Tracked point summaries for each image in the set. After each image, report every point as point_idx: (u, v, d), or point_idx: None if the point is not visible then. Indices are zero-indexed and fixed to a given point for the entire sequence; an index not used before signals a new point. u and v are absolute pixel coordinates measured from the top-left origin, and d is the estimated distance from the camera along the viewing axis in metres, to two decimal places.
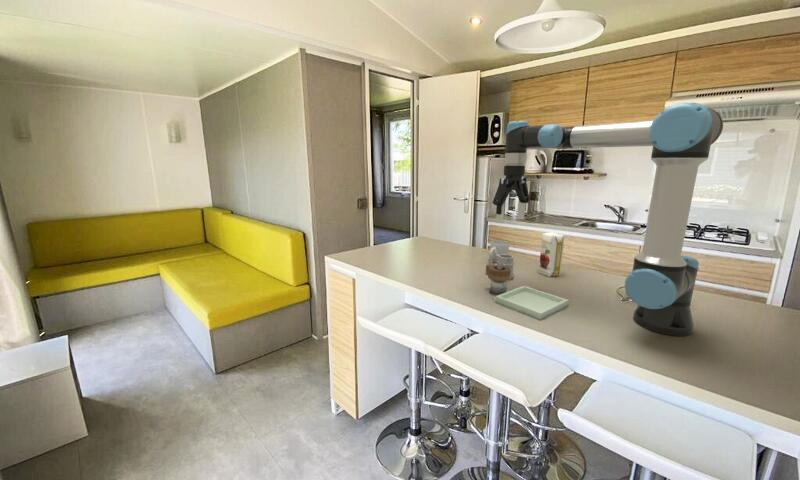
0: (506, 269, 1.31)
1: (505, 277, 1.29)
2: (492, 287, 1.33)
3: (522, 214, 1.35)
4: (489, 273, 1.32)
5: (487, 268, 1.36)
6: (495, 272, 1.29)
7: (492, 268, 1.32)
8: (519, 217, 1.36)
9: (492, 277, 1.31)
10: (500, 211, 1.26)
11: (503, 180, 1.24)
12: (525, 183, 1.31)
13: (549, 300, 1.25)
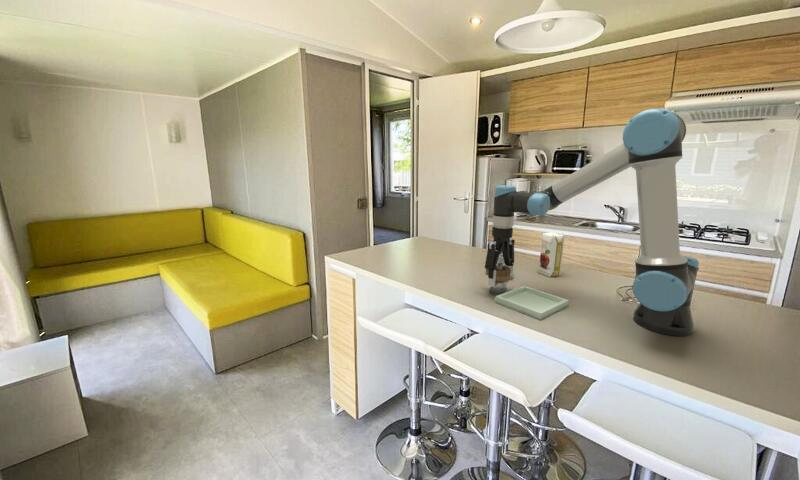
0: (506, 269, 1.31)
1: (505, 277, 1.29)
2: (492, 287, 1.33)
3: None
4: None
5: None
6: None
7: None
8: None
9: None
10: (492, 275, 1.29)
11: (491, 246, 1.26)
12: (512, 244, 1.33)
13: (549, 300, 1.25)
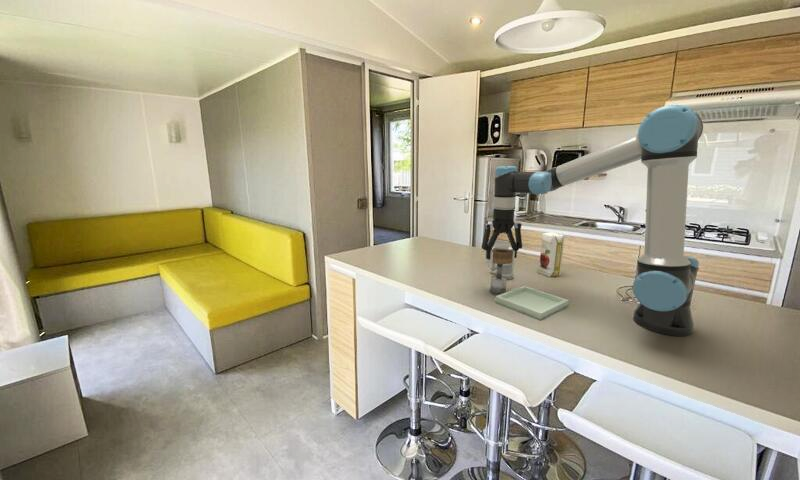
0: (506, 252, 1.28)
1: (502, 260, 1.27)
2: (492, 287, 1.33)
3: None
4: None
5: None
6: None
7: (493, 250, 1.32)
8: (510, 264, 1.32)
9: None
10: (489, 256, 1.30)
11: (486, 226, 1.27)
12: (518, 228, 1.28)
13: (549, 300, 1.25)
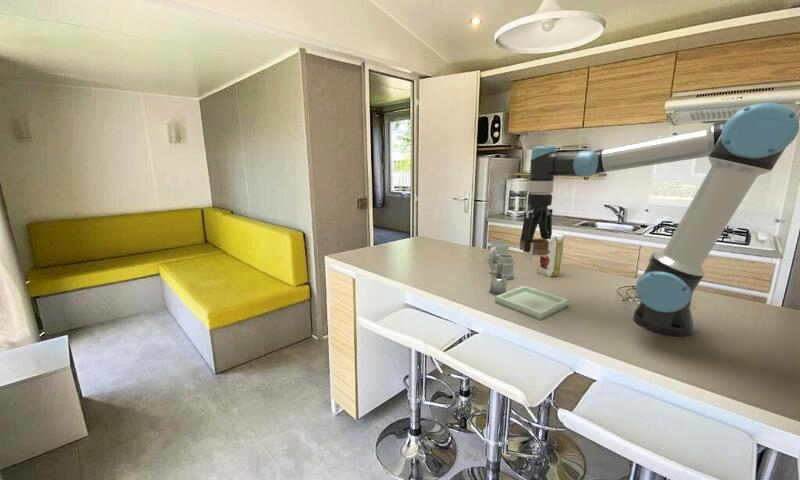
0: (544, 242, 1.17)
1: (543, 250, 1.15)
2: (492, 287, 1.33)
3: None
4: None
5: (521, 242, 1.22)
6: None
7: None
8: None
9: None
10: (529, 248, 1.15)
11: (528, 214, 1.12)
12: (550, 215, 1.19)
13: (549, 300, 1.25)
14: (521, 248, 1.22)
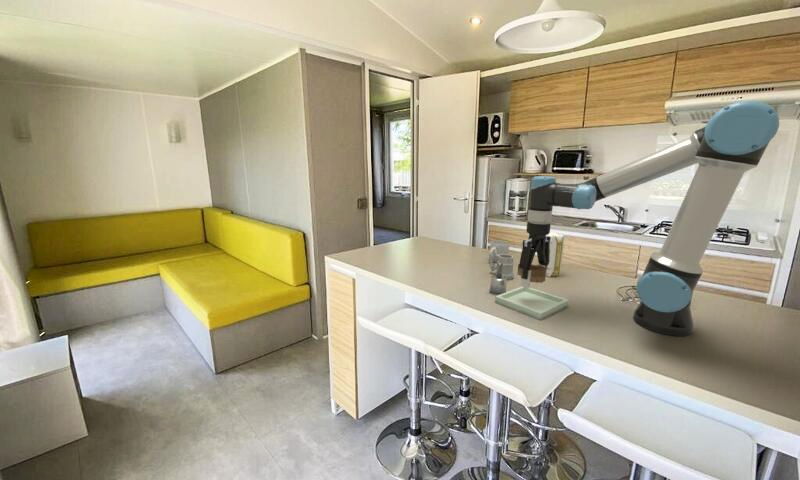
0: (541, 269, 1.19)
1: (541, 278, 1.17)
2: (492, 287, 1.33)
3: None
4: None
5: (519, 268, 1.24)
6: None
7: None
8: None
9: None
10: (526, 276, 1.17)
11: (527, 243, 1.14)
12: (548, 242, 1.21)
13: (549, 300, 1.25)
14: (519, 273, 1.24)
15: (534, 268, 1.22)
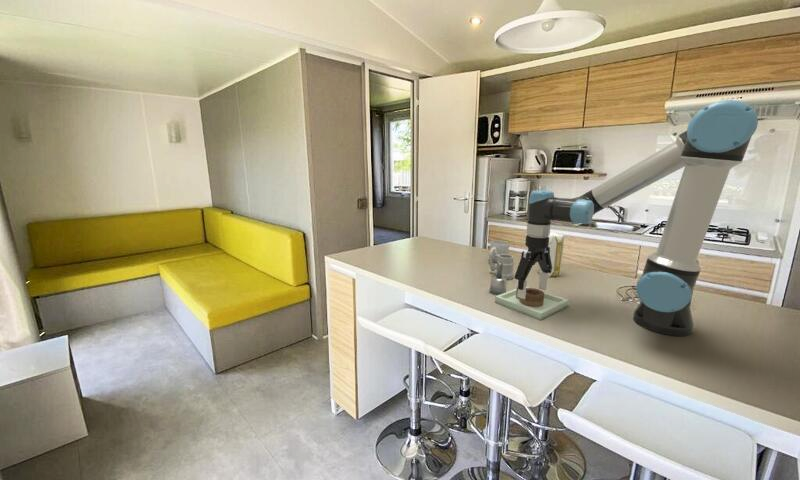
0: (540, 293, 1.21)
1: (539, 302, 1.19)
2: (492, 287, 1.33)
3: (544, 284, 1.25)
4: None
5: None
6: (528, 297, 1.19)
7: None
8: (541, 287, 1.26)
9: (524, 302, 1.21)
10: (522, 286, 1.16)
11: (526, 254, 1.14)
12: (548, 253, 1.22)
13: (549, 300, 1.25)
14: (517, 297, 1.26)
15: (532, 292, 1.24)
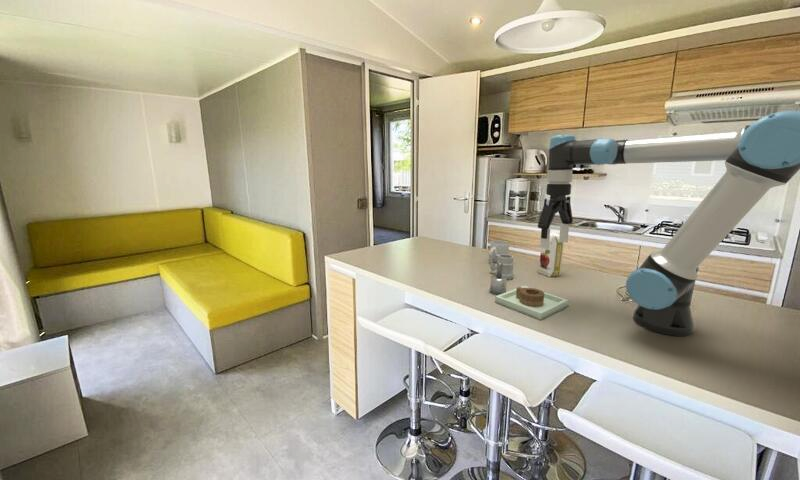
0: (540, 293, 1.21)
1: (539, 302, 1.19)
2: (492, 287, 1.33)
3: (565, 236, 1.22)
4: (521, 297, 1.22)
5: (518, 291, 1.26)
6: (528, 297, 1.19)
7: (524, 292, 1.22)
8: (562, 239, 1.23)
9: (524, 302, 1.21)
10: (546, 235, 1.13)
11: (549, 201, 1.11)
12: (568, 202, 1.19)
13: (549, 300, 1.25)
14: (517, 297, 1.26)
15: (532, 292, 1.24)
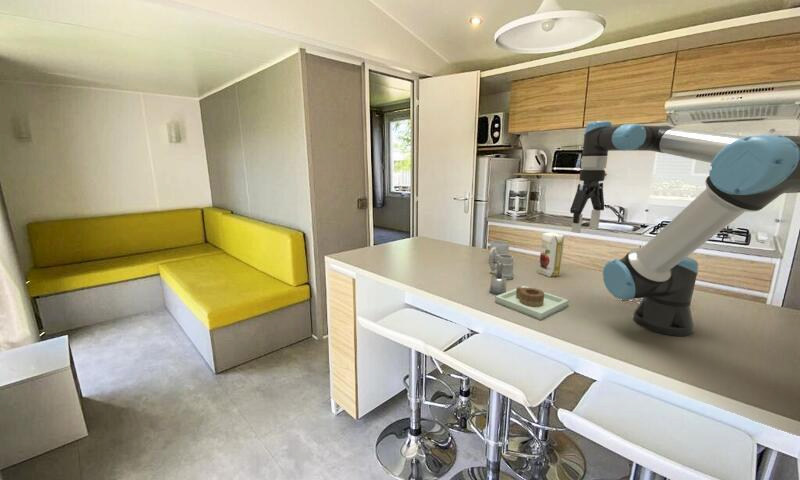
0: (540, 293, 1.21)
1: (539, 302, 1.19)
2: (492, 287, 1.33)
3: (596, 222, 1.24)
4: (521, 297, 1.22)
5: (518, 291, 1.26)
6: (528, 297, 1.19)
7: (524, 292, 1.22)
8: (592, 225, 1.25)
9: (524, 302, 1.21)
10: (578, 220, 1.15)
11: (582, 186, 1.13)
12: (601, 189, 1.20)
13: (549, 300, 1.25)
14: (517, 297, 1.26)
15: (532, 292, 1.24)
